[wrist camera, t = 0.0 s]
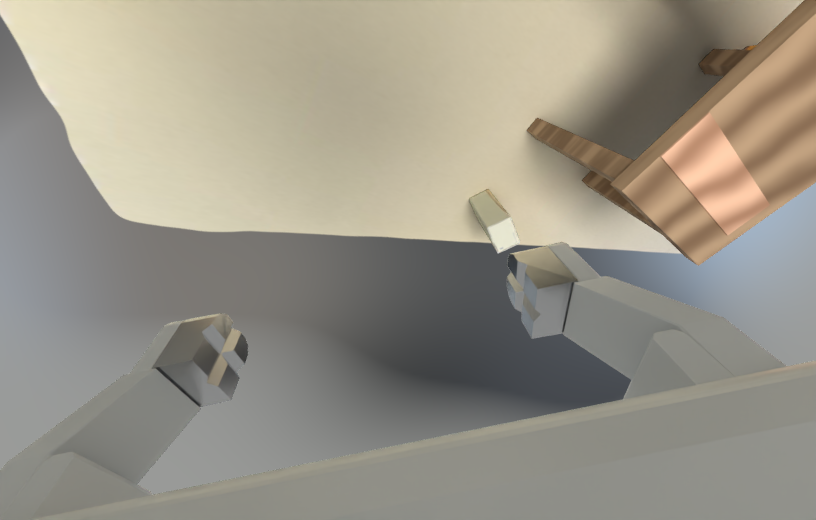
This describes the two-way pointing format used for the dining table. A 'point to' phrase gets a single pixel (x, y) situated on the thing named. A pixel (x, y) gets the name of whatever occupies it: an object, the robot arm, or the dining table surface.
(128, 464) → the robot arm
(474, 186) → the dining table surface
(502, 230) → the skincare box
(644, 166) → the wooden stool
